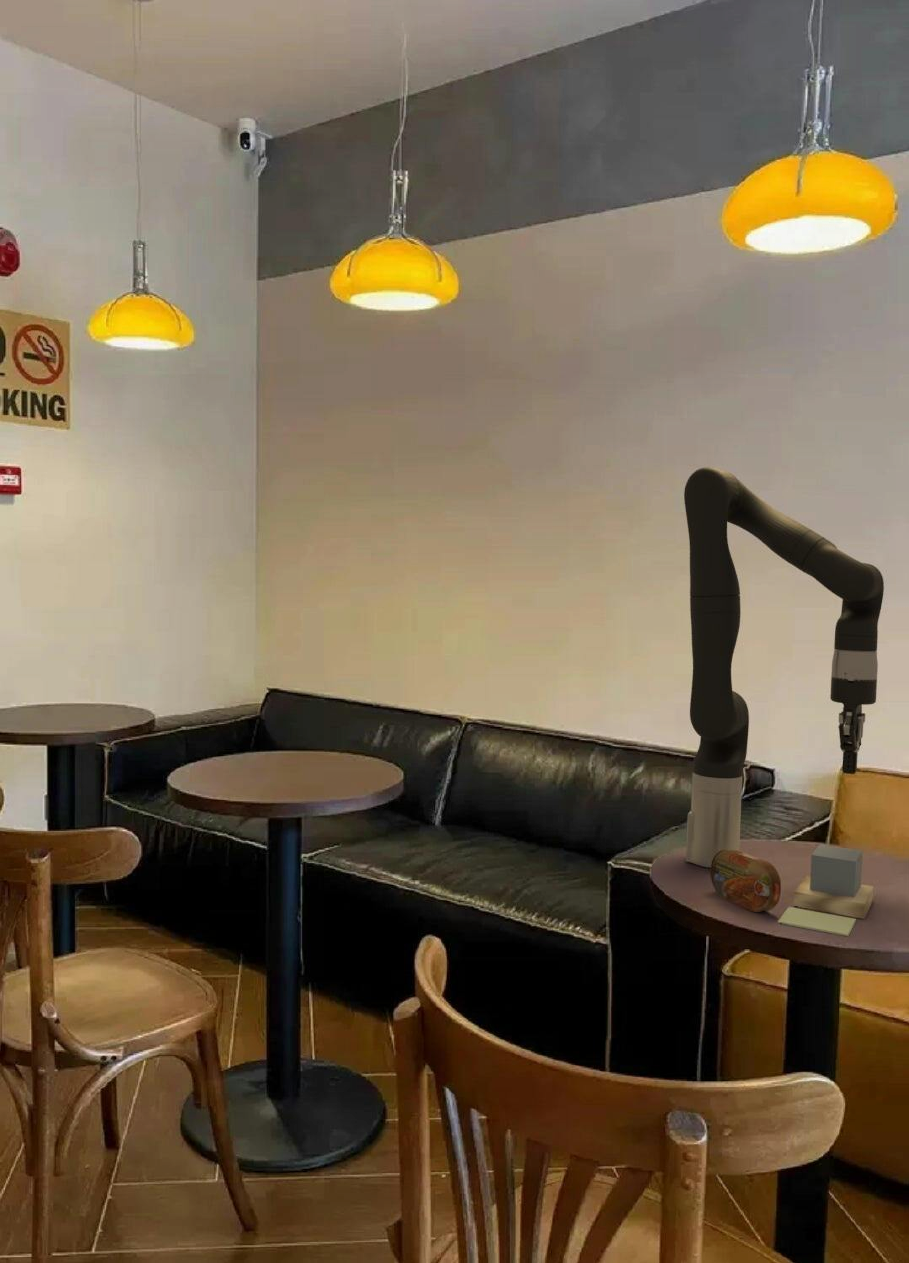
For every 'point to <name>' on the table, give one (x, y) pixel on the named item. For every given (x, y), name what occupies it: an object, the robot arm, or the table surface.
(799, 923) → the mat
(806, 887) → the block
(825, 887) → the box
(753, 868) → the tin
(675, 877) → the table surface
